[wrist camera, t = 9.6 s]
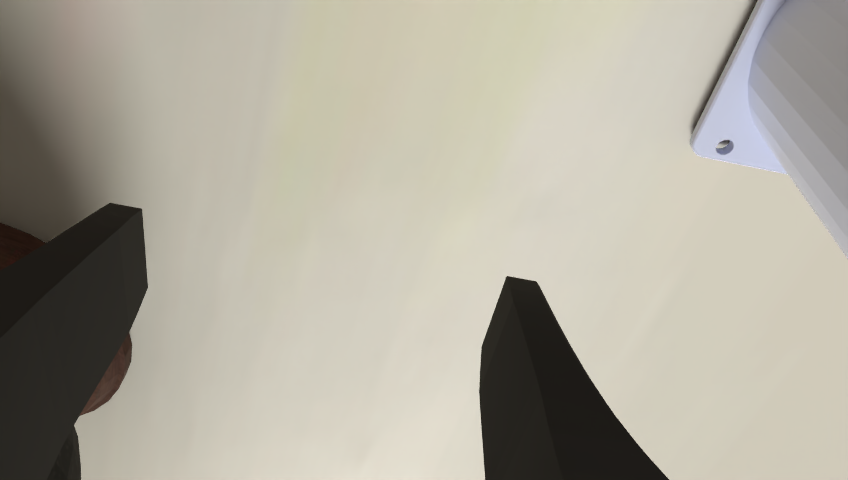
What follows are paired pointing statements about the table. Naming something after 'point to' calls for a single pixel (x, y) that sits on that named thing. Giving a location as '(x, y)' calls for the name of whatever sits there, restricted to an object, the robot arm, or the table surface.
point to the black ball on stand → (10, 246)
